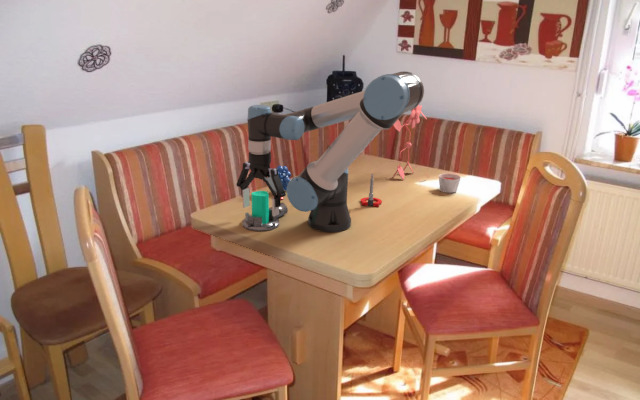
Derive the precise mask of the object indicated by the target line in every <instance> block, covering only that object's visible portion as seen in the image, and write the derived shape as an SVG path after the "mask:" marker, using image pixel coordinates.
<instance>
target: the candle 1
mask: <svg viewBox="0 0 640 400" xmlns="http://www.w3.org/2000/svg"><path fill="white" fill-rule="evenodd" d="M269 197H270V195H269V192H268V191H266V190H257V191H253V192H251V215H252V216H257V217H262V224H267V223H268V222H269V208H270V201H269V200H270V198H269Z"/></svg>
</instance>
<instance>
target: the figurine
mask: <svg viewBox="0 0 640 400" xmlns="http://www.w3.org/2000/svg"><path fill="white" fill-rule="evenodd" d="M422 108H423V105H420V104H419V105H418V106H417V107H416V108H414V109H413V110H410V111H411V113H410V115H409V117H408V119H407V120H406V121H405V122H404V124H403V125H402V123H401V121H400V120H399V119H398V120H397V121H396V122H395V123H394V124H393V126H392V127H394V129H395V130H396V131H397V132H398V133H401V130H402V128H404V127H405V128H406V129H407V131H408V133H409V137H408V141H407V142H406V143H405V147H404V148H403V149H402V150H401V151H399V157H401V155H402V154H401V153H402V152H404V151H405V150H407V151H408V152H407V153H408V154H407V156H408V157H407V158H408V159H407V161H406V165H405V166H404V168H403V167H402V166H401V164H398V165H397V167H396V169H397V170H396V171H395V173H394V174H393V176H392V178H395V176H396V174H397V173H398V175H399V177H400V178H401V179H402V181H404V179H405V172H404V171H405V170H406V168H408V167H407V166H409V169H410V170H411V172H412V173H413V174H414V171H413V168H412V167H411V164H410V149H411V147H412V146H413V145H412V143H411V136H412V135H411V134H412V133H411V130H410V129H409V127H408V126H410V125H411V127H410V128H411V129H412V130H413V129H414V128H416V125H417V124H419V123H420V122H421V120H420V116H421V115H422V117H423V118H424V119H425V120H428V118H427V116H426V115H425V114H424V113H423V111H422ZM425 175H426V176H427V177H429V176H428V174H427V173H425ZM386 180H388V181H389V179H387V178H386ZM422 182H424V180H422V181H420V183H422Z"/></svg>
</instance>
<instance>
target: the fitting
mask: <svg viewBox="0 0 640 400" xmlns="http://www.w3.org/2000/svg"><path fill="white" fill-rule="evenodd" d="M284 197H285V196H283V197H281V198H280V201H284V200H285V198H284ZM272 198H274V196H273V195H272ZM288 211H289V209H288V206H287V205H286V204H285V203H284V202H281V205H280V206H279V215H276V216H272V206H271V207H269V222H268V223H267V224H262V217H257V216H252V214H250V213H249V212H245V215H244V216H245V217H244V219H243V220H242V221H241V224H242V225H243V226H242V227H243V228H244V229H245V228H246V230H248V231H253V232H269V231H272V230H276V229H277V228H278V227H279V226H280V219H279V218H280V217H283V216H285V215H287V214H288Z"/></svg>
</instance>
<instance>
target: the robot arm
mask: <svg viewBox="0 0 640 400" xmlns="http://www.w3.org/2000/svg"><path fill="white" fill-rule="evenodd" d="M424 94H425V89H424V84H423V82H422V80H421V78H420V77H419V76H418V75H416V74H415V73H413V72H410V71H399V72H395V73H389V74H383V75H380V76H377V77H376V78H375V79H373V80H372V81H371V82H369V83H368V84H367V87H366V88H365V89H364V90H362V91H359V92H355V93H352V94H349V95H346V96H342V97H339V98H336V99H333V100H330V101H326V102H323V103H320V104H318V105H317V104H316V105H315V106H311V107H307V108H304V109H300V110H298V111H293V112H290V113H286V114H278V113H273V112H272V109H271V106H269V105H267V104H253V105H250V106H249V107H247V108H248V109H247V119H246V121H247V129H248V130H247V133H248V138H247V141H248V143H247V145H248V146H247V149H248V161H246V162H243V163H242V169H241V171H240V174H239V177H238V180H237V181H236V187H239V188H240V194H241V198H242V208H244V209H245V208H248V207H250V206H251V203H250V199H251V198H250V188H249V186H250V185H251V183H252V182H253V180H255V179H259V180H262V181H263V182H264V183H265V184H266V186H267V187H268V189H269V192H270V193H271V195H272V197H271V201H272V202H271V203H272V205H271V207H272V216H276V215H279V206H280V205H281V203H282V202H281V201H282V200H281V201H280V198H281V197H285V196H287V200H288V201H289V203H290V204H291V206H292V207H294V209H296V210H298V211H299V212H305V213H306V212H307V213H308V212H309V214H308V219H307V220H308V221H307V225H308V226H309V227H310V228H311V229H313V230H315V231H319V232H325V233H338V232H343V231H346V230H348V229H349V228H350V227H351V226H352V218H351V215H350V211H349V207H348V203H347V202H348V185H349V183H348V181H349V170H348V169H349V167H350V166H351V165H352V164H353V163H354V162H355V160H357V158H358V157H359V156H360V154H362V153H363V152H364V150H365V149H366V148H367V147H368V146H369V145H370V144H371V142H373V140H374V139H375V138H376V137H377V136H378V134H380V132H381V131H382V130H390V129H391V128H392V127H394V126H393V124H394V123H395V122H396V121H397V120H399V119H400V118H401V117H402V116H403V115H404V114H405V113H407V112H410V111H411V110H413V109H414V108H416V107H417V106H418V105H419V106H420V104H421V102H422V101H423V98H424ZM349 120H350V121H349ZM347 121H349V122H348V124H347V125H346V126H345V127H344V128H343V130H342V131H341V132H340V133H339V134H338V135H337V137H336V138H335V139H334V140H333V141H332V142H331V144H330V146H329V148H328V149H327V148H326V149H327V150H326V149H325V151H324V152H323V154H322V155H321V156H320V157H319V158H318V159H317V160H315V161H311V162H309V163H308V164H307V165H306V167H305V168H303V170H302V171H301V172H300V174H298V176H294V177H292V178H291V180H290V181H289V183H288V185H287V189H286V192H285V190H284V189H283V186H282V183H281V181H280V178H279V175H278V169H277V167H275V168H271V162H272V152H271V149H272V145H271V144H272V142H271V141H272V138H278V139H282V140H286V141H287V140H288V141H298V140H300V139H301V137H303V135H304V133H309V132H312V131H315V130H318V129H321V128H325V127H329V126H333V125H336V124H339V123H342V122H347ZM249 171H250V172H249ZM286 193H287V195H286ZM273 196H274V198H273Z"/></svg>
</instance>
